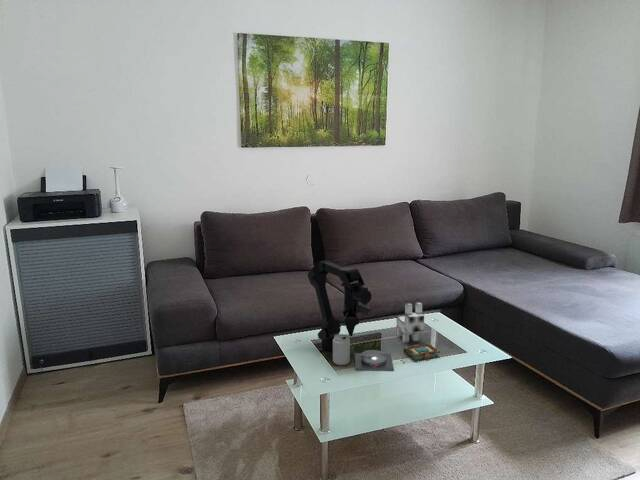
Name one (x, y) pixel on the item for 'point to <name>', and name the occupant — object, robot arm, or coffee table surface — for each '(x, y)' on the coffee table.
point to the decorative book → (420, 352)
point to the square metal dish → (373, 361)
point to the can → (341, 349)
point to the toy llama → (410, 323)
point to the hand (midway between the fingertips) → (350, 332)
